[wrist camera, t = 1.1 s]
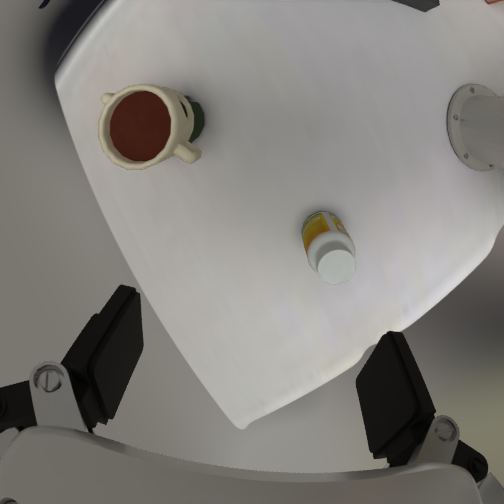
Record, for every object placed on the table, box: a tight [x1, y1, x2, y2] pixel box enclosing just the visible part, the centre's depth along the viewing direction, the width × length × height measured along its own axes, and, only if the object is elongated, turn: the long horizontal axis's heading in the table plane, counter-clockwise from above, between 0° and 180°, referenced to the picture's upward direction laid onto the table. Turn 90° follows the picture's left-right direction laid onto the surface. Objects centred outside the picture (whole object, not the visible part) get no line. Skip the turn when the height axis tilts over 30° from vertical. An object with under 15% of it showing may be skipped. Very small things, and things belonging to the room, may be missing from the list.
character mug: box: [98, 84, 204, 170], centre depth 26 cm, size 11×7×13 cm, turn 51°
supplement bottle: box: [302, 212, 356, 284], centre depth 33 cm, size 5×5×10 cm
